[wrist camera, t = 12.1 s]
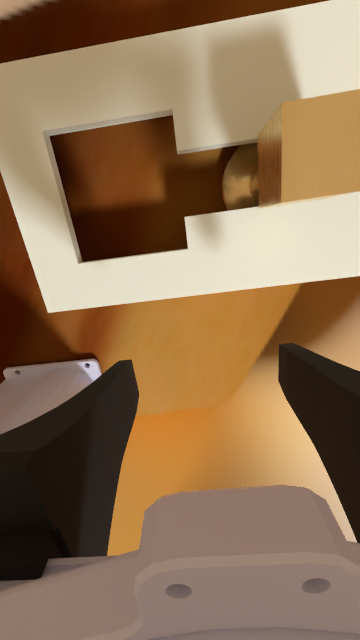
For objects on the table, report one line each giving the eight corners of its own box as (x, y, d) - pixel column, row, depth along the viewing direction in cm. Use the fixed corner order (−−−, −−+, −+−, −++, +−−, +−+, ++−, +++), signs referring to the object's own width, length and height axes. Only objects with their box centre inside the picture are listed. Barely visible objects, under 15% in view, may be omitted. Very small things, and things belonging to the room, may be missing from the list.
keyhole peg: (224, 233, 20) (253, 237, 11) (218, 144, 18) (247, 67, 9) (302, 222, 19) (392, 217, 11) (305, 130, 17) (420, 34, 9)
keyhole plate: (70, 298, 22) (48, 312, 18) (12, 102, 17) (-34, 70, 13) (352, 264, 20) (387, 272, 17) (378, 37, 15) (437, -21, 12)
